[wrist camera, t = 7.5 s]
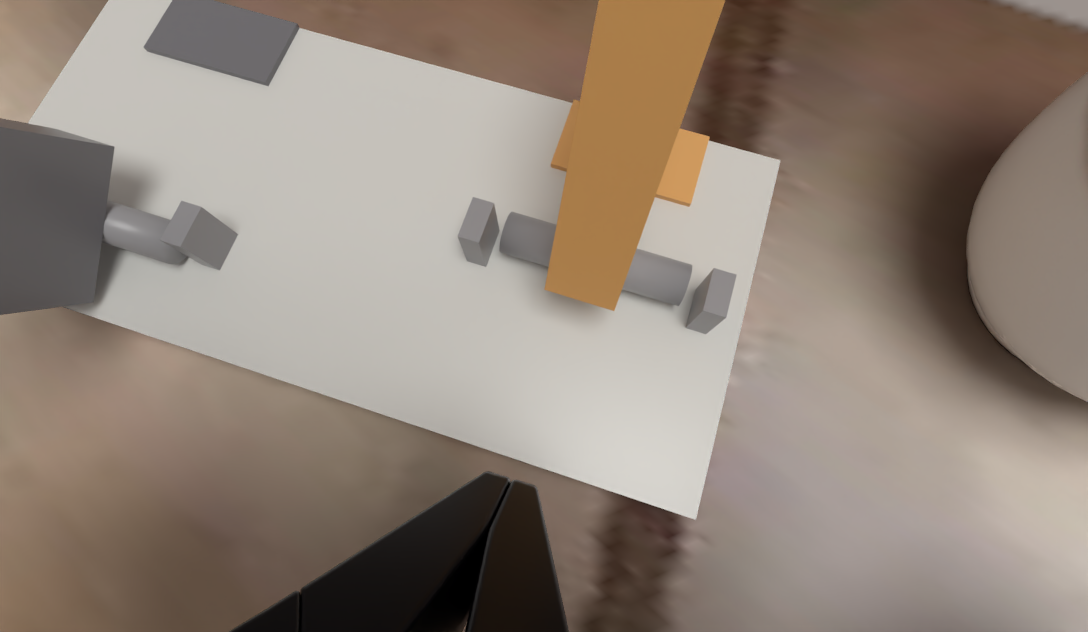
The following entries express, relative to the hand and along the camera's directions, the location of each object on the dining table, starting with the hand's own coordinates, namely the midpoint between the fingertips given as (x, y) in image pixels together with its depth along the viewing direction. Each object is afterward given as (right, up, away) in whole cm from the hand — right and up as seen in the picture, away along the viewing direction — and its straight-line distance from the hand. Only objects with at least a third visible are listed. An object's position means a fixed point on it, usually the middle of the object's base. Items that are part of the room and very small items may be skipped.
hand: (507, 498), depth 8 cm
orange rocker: (+2, +4, +7) cm, 9 cm away
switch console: (-5, +5, +10) cm, 13 cm away
